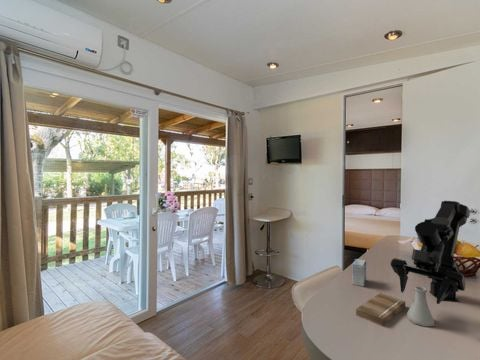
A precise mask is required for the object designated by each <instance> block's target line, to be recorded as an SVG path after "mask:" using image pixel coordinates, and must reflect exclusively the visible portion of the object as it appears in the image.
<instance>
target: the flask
mask: <svg viewBox="0 0 480 360" xmlns="http://www.w3.org/2000/svg"><path fill="white" fill-rule="evenodd" d="M413 287H414V290H415V293H414V298H413V300H412V303H411V305H410V306H409V309H408V311H407V313H406V319H408V321H410V322H412V323H413V324H414V325H419V326H423V327H435V326H436V325H435V321H434V318H433V315H432V313H431V310H430V307H429V305H428V301H427V295H426V293H428V290H427V288H426V287H423V286H417V285H416V286H413Z"/></svg>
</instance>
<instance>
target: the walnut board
mask: <svg viewBox="0 0 480 360" xmlns="http://www.w3.org/2000/svg"><path fill="white" fill-rule="evenodd" d="M405 308H406V300H403V299H400V298H397V297H395V296H392V295H388V294H385V293H382V292H378V294H376V295H375V296H374V297H372V298H370V299H369V300H367V301H366V302H364V303H362V304H361V305H359V306H358V307H357V308H355V315H356V316H358V317H360V318H362V319H364V320H366V321H367V320H368V321H370V322H372V323H375V324H377V325H379V326H381V327H384V325H386V324H387V323H388V322H389V321H390V320H392V319H393V318H394V317H395V316H396V315H398V314H399V313H400V312H401V311H403V310H404V309H405Z"/></svg>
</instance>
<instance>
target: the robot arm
mask: <svg viewBox="0 0 480 360" xmlns="http://www.w3.org/2000/svg"><path fill="white" fill-rule="evenodd" d="M470 213H471V212H470V208H469V207H468V206H467V205H466V204H462V203H460V202H459V201H455V200H443V201H441V204H440V208H439V210H438V211H437V212H436V215H434V217H433V218H429V219H428V218H426V219H424V221H421V222H419V223H417V224H416V225H415V227H414V231H415V233H416V236H417V238H418V241H419V243H421V246H420V249H414V248H413V249H412V256H411V260H413V265H415V266H412V265H409V264H408V263H407V261H406V260H404V259H399V258H396V257H395V258H392V259H391V260H390V266H391V268H392V270H393V272H394V273H395V274H396V275H397V276H398V277H399V285H400V292H401V294H403V293H404V292H405V290H406V286H407V283H408V279H409V277H408V275H409V273H414V274H417V275H422V276H424V277H425V276H426V277H427V278H428V279H431V281H430V285H429V286H430V290H429V293H430V294H431V295H432V296H433V297H435V298H436V304H438V305H439V304H440V303H442V302H443V301H450V302H452V301H453V302H459V300H460V299H458V298H457V292H459V291H462V292H463V291H465V289H466V281H465V280H466V279H465V276H464V274H463V273H461V272H460V271H459V268H458V266H457V264H456V260H455V259H454V254H455V251H456V246H457V242H458V241H457V240H458V236H459V232H460V228H461V227H462V226H464V225H466V223H467V220H468V219H469V218H470V216H471V215H470Z"/></svg>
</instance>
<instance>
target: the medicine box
mask: <svg viewBox="0 0 480 360" xmlns="http://www.w3.org/2000/svg"><path fill="white" fill-rule="evenodd" d="M351 267H352V270H351V271H352V272H351V273H352V274H351V276H352V278H351V279H352V281H351V282H352V285H355V286H358V287H359V286H360V287H363V288H364V287H365V284H366V282H367V260H365V259H359V258H355V259H354V261H353V262H352V266H351Z"/></svg>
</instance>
